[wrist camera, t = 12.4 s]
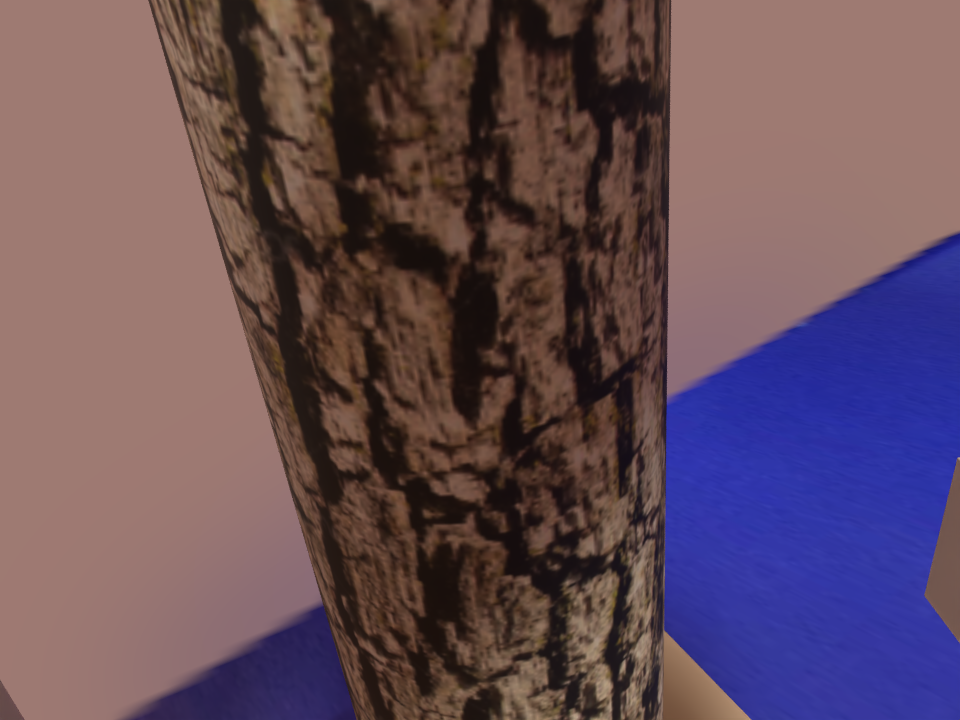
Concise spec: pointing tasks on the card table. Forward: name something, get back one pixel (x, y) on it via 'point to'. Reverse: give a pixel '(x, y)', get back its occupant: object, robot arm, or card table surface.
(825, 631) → the card table surface
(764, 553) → the card table surface
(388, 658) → the paper tube
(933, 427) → the card table surface
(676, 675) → the seat board
